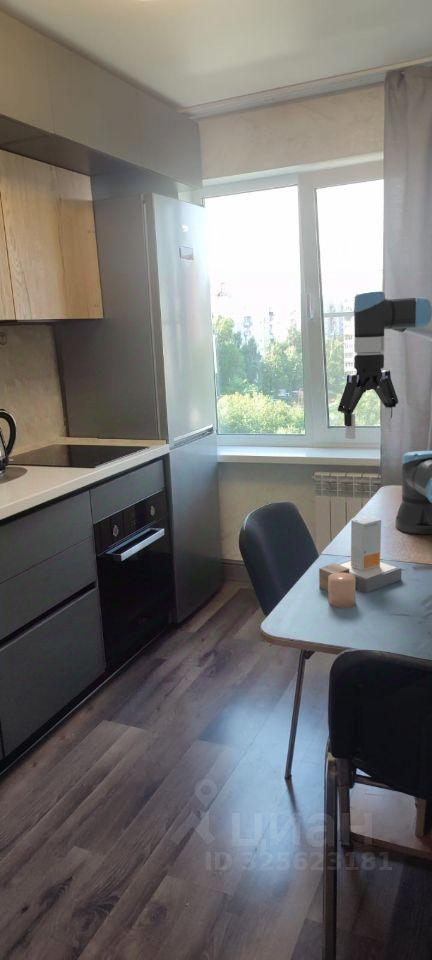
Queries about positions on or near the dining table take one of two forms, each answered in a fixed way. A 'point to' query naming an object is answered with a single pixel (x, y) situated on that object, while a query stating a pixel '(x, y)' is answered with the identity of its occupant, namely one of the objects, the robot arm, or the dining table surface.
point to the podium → (374, 576)
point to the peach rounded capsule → (341, 590)
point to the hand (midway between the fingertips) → (368, 434)
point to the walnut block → (327, 571)
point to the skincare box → (365, 543)
